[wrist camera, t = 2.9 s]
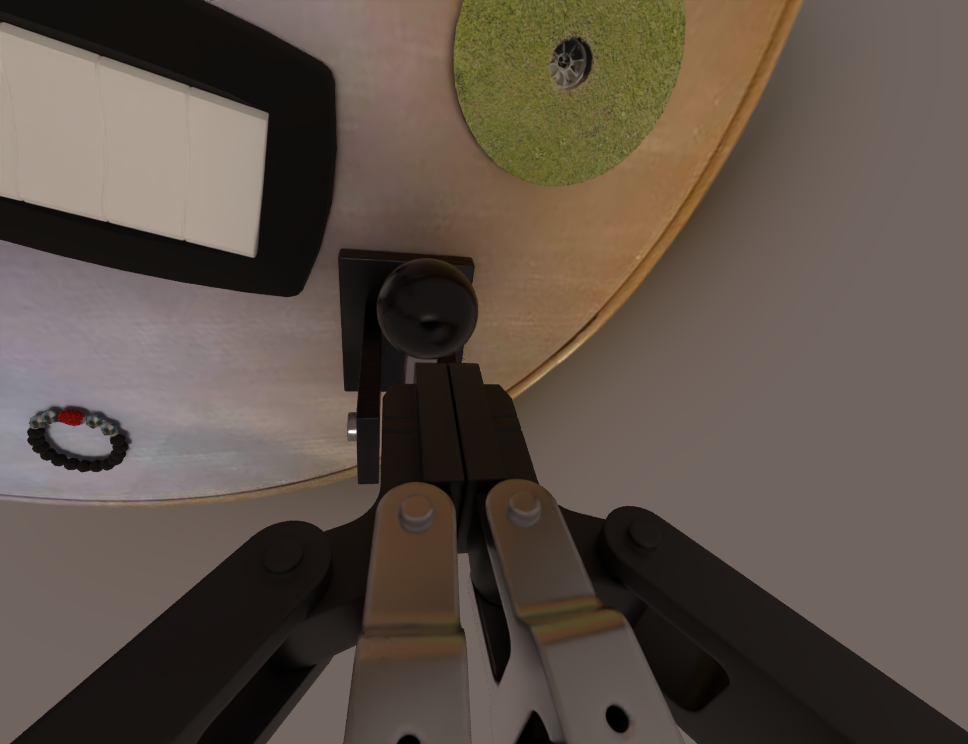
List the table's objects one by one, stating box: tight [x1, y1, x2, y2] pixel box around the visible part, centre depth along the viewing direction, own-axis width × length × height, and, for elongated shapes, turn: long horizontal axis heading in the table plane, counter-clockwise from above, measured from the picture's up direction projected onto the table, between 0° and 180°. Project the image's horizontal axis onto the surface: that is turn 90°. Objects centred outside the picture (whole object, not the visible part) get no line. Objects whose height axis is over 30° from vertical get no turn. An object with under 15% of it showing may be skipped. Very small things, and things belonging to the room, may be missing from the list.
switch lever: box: [377, 258, 478, 384], centre depth 19 cm, size 13×3×3 cm, turn 172°
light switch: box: [0, 0, 337, 297], centre depth 22 cm, size 20×3×14 cm
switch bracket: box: [338, 249, 475, 484], centre depth 27 cm, size 10×8×12 cm
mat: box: [453, 0, 685, 186], centre depth 23 cm, size 11×11×2 cm
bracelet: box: [27, 410, 128, 472], centre depth 32 cm, size 6×6×1 cm
